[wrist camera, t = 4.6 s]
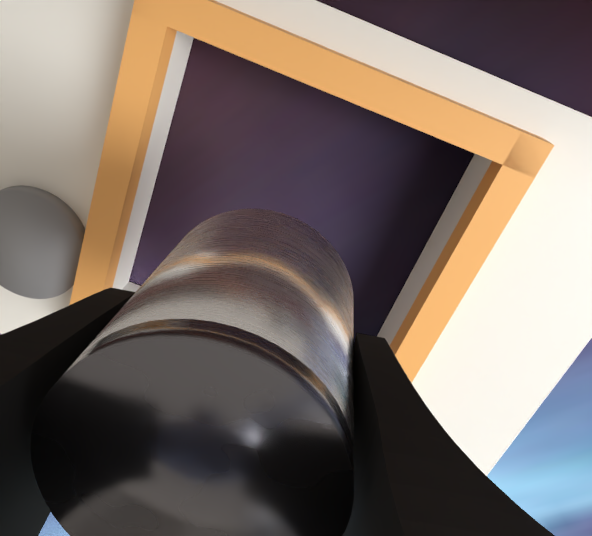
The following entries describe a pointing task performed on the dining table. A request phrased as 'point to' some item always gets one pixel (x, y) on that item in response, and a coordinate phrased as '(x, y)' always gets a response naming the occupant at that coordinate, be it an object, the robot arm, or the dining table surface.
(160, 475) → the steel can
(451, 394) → the white flat frame
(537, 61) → the dining table surface
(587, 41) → the dining table surface
